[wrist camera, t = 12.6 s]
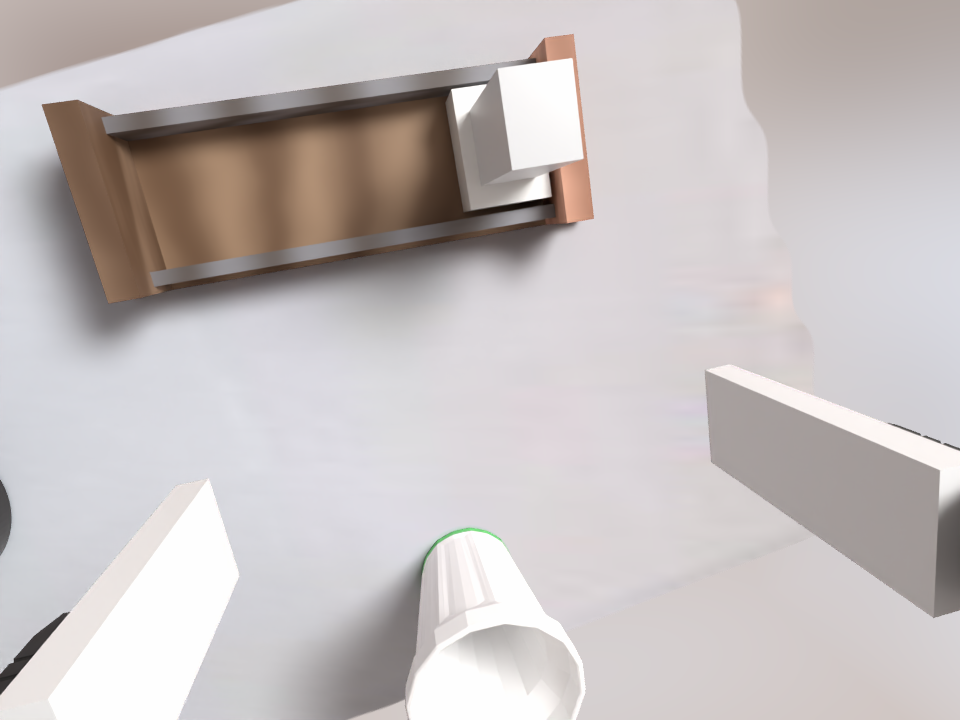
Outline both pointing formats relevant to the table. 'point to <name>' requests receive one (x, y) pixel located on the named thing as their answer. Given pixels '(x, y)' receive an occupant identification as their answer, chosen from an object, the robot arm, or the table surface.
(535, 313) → the table surface
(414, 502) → the table surface
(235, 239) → the track
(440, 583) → the cup
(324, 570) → the table surface
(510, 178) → the block
